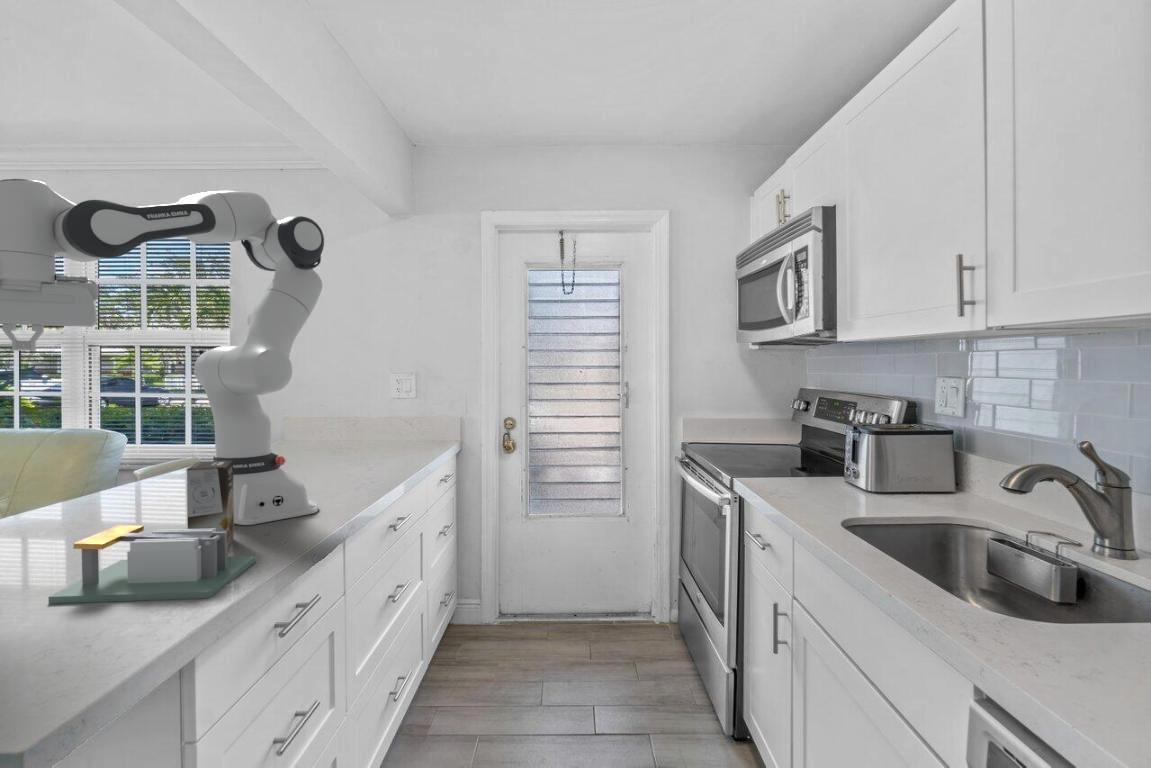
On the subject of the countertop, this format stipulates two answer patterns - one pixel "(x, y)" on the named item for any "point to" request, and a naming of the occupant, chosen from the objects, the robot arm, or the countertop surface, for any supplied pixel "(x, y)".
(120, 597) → the heatsink board
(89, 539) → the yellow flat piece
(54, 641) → the countertop surface
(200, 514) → the coffee box
